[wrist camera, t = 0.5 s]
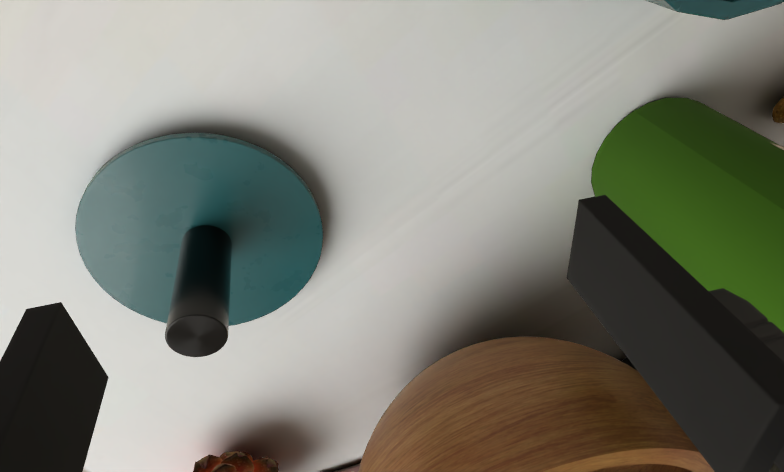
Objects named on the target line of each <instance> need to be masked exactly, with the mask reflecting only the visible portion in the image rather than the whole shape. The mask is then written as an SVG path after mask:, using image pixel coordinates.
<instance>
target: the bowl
mask: <svg viewBox="0 0 784 472" xmlns="http://www.w3.org/2000/svg"><path fill="white" fill-rule="evenodd" d="M358 472H714V470H713V469H712V468H711V466H710V465H709V464H708V462H707V461H706V460H705V458H704V457H703V456H702V455H701V453H700V452H699V451H698V449H697V448H696V447H695V445H694V444H693V443H692V441H691V440H690V439H689V437H688V436H687V435H686V434H685V432H684V431H683V430H682V428H681V427H680V426H679V424H678V423H677V422H676V420H675V419H674V418H673V416H672V415H671V414H670V413H669V411H668V410H667V409H666V407H665V406H664V405H663V403H662V402H661V401H660V399H659V398H658V397H657V396H656V394H655V393H654V392H653V390H652V389H651V388H650V386H649V385H648V384H647V382H646V381H645V380H644V378H643V377H642V376H641V375H640V373H639V372H638V371H637V370H635V369H634V368H632V367H630V366H629V365H627V364H625V363H623V362H621V361H619V360H618V359H616V358H614V357H612V356H610V355H607V354H605V353H603V352H600V351H598V350H595V349H593V348H590V347H587V346H584V345H581V344H577V343H573V342H569V341H565V340H559V339H553V338H546V337H531V336H520V337H506V338H499V339H493V340H488V341H484V342H480V343H477V344H473V345H470V346H468V347H465V348H462V349H460V350H458V351H455V352H453V353H451V354H449V355H447V356H445V357H444V358H442V359H440V360H438V361H437V362H435V363H434V364H432V365H431V366H429V367H428V368H426V369H425V370H424V371H422V372H421V373H420V374H419V375H417V376H416V377H415V378H414V379H413V380H412V381H411V382H410V383H409V384H408V385H407V386H406V387H405V388H404V389H403V390H402V391H401V392H400V393H399V394H398V395H397V397H396V398H395V399H394V400H393V402H392V403H391V404H390V406H389V407H388V408H387V410H386V411H385V413H384V414H383V416H382V417H381V419H380V421H379V422H378V424H377V426H376V428H375V429H374V431H373V433H372V436H371V438H370V440H369V442H368V444H367V447H366V449H365V452H364V455H363V457H362V460H361V464H360V467H359V471H358Z"/></svg>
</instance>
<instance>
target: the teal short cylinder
mask: <svg viewBox="0 0 784 472" xmlns="http://www.w3.org/2000/svg"><path fill="white" fill-rule="evenodd" d="M646 1H649V2H652V3H654V4H657V5H660V6H663V7H666V8H668V9H671V10H674V11H677V12H682V13H687V14H693V15H699V16H705V17H711V18H716V19H722V20H726V19H731V18H734V17H738V16H741V15H744V14H748V13H751V12H754V11H758V10H761V9H764V8H768V7H771V6H775V5H778V4H781V3H782V2H784V0H646Z"/></svg>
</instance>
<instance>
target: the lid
mask: <svg viewBox="0 0 784 472" xmlns="http://www.w3.org/2000/svg"><path fill="white" fill-rule="evenodd" d="M75 230H76V240H77V244H78V248H79V252H80V255H81V257H82V259H83V261H84V264H85V266H86V268H87V269H88V271H89V272H90V274H91V275H92V277H93V278H94V279H95V281H96V282H97V283H98V284H99V285H100V286H101V287H102V288H103V289H104V290H105V291H106V292H107V293H108V294H109V295H110V296H112V297H113V298H114V299H115V300H117V301H118V302H120V303H121V304H123V305H124V306H126V307H128V308H129V309H131V310H133V311H135V312H137V313H139V314H141V315H144V316H146V317H149V318H151V319H154V320H157V321H161V322H164V323H167V327H166V332H165V339H166V342H167V344H168V345H169V347H170V348H171V349H173V350H174V351H175V352H177V353H179V354H182V355H185V356H190V357H202V356H207V355H210V354H213V353H215V352H217V351H218V350H220V349H221V348H222V347H223V346H224V345H225V343H226V341H227V338H228V326H231V325H237V324H241V323H245V322H248V321H252V320H254V319H257V318H260V317H262V316H265V315H267V314H269V313H271V312H273V311H275V310H276V309H278V308H279V307H281V306H283V305H284V304H286V303H287V302H288V301H289V300H291V299H292V298H293V297H294V296H295V295H296V294H297V293H298V292H299V291H300V290H301V289H302V288H303V287H304V286H305V285H306V283H307V282H308V281H309V279H310V278H311V276H312V274H313V272H314V271H315V269H316V267H317V264H318V261H319V259H320V255H321V251H322V246H323V228H322V221H321V216H320V213H319V209H318V206H317V203H316V201H315V199H314V197H313V195H312V193H311V191H310V190H309V188H308V187H307V185H306V184H305V182H304V181H303V180H302V179H301V178H300V176H299V175H298V174H297V173H296V172H295V171H294V170H293V169H292V168H291V167H289V166H288V165H287V164H286V163H285V162H284V161H282V160H281V159H279V158H278V157H276V156H275V155H273V154H272V153H270V152H268V151H266V150H264V149H262V148H260V147H258V146H256V145H254V144H251V143H248V142H246V141H243V140H240V139H236V138H232V137H228V136H224V135H217V134H209V133H180V134H171V135H166V136H161V137H157V138H152V139H150V140H147V141H144V142H141V143H139V144H136V145H134V146H132V147H130V148H128V149H126V150H124V151H122V152H121V153H119V154H118V155H117V156H115V157H114V158H112V159H111V160H110V161H108V162H107V163H106V164H105V165H104V166H103V167H102V168H101V169H100V170H99V171H98V172H97V173H96V175H95V176H94V177H93V179H92V180H91V182H90V183H89V184H88V186H87V188H86V190H85V193H84V195H83V197H82V199H81V201H80V204H79V208H78V211H77V215H76V227H75Z"/></svg>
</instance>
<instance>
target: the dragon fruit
mask: <svg viewBox="0 0 784 472" xmlns="http://www.w3.org/2000/svg"><path fill="white" fill-rule="evenodd" d="M193 472H278V463H277V462H276V461H275V460H273V459H270V458H268V457H264V458H262V457H260V458H259V459H257V460H254V461H253V458H252V456H251V455H250V454H248V453H245V452H240V451H235V452H224V453H223V454H222V455H221V456H220V457H216V456H213V455H208V456H206V457H204V458H202V459H201V460H199V461H197V462H195V466H194V471H193Z"/></svg>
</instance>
